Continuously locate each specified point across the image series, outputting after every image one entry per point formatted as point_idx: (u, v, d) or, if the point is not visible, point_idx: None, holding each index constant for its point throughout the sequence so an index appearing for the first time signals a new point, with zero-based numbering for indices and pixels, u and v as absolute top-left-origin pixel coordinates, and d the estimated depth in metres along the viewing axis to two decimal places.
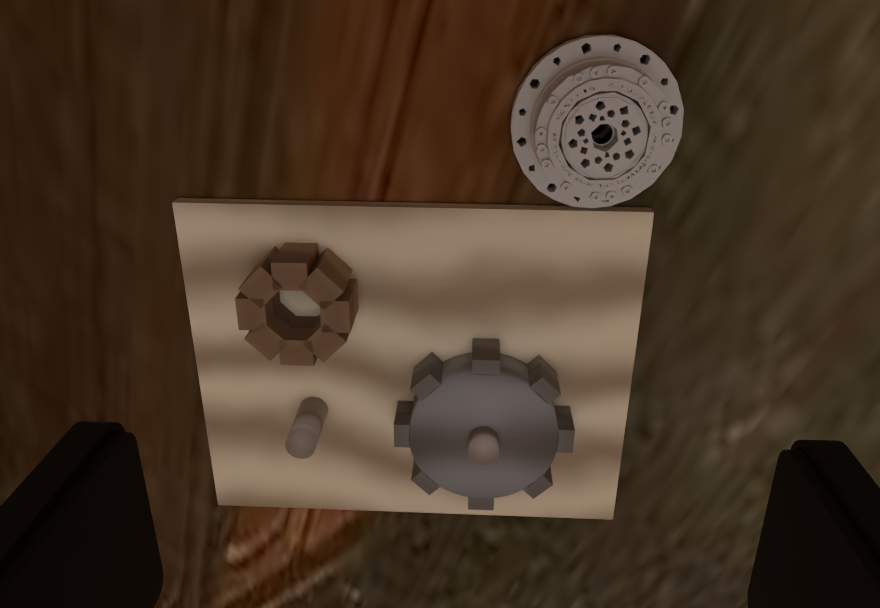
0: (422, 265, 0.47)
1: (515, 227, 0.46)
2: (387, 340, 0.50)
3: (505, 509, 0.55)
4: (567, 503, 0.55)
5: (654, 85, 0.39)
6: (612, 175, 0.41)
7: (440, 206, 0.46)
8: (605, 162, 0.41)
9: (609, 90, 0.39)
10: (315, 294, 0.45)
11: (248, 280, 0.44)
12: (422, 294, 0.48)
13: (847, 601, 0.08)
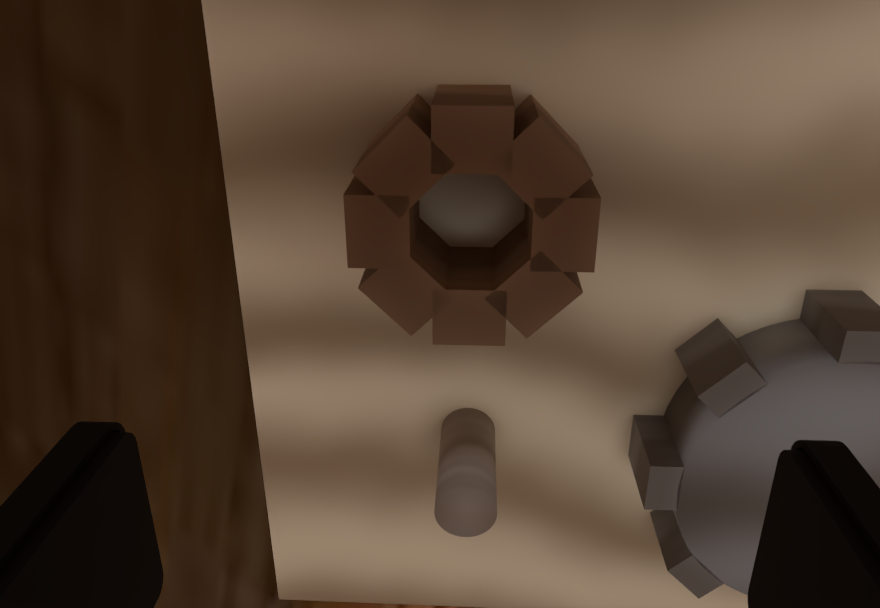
0: (730, 131, 0.22)
1: None
2: (629, 296, 0.25)
3: None
4: None
5: None
6: None
7: None
8: None
9: None
10: (527, 182, 0.20)
11: (376, 150, 0.20)
12: (718, 197, 0.23)
13: (847, 601, 0.08)
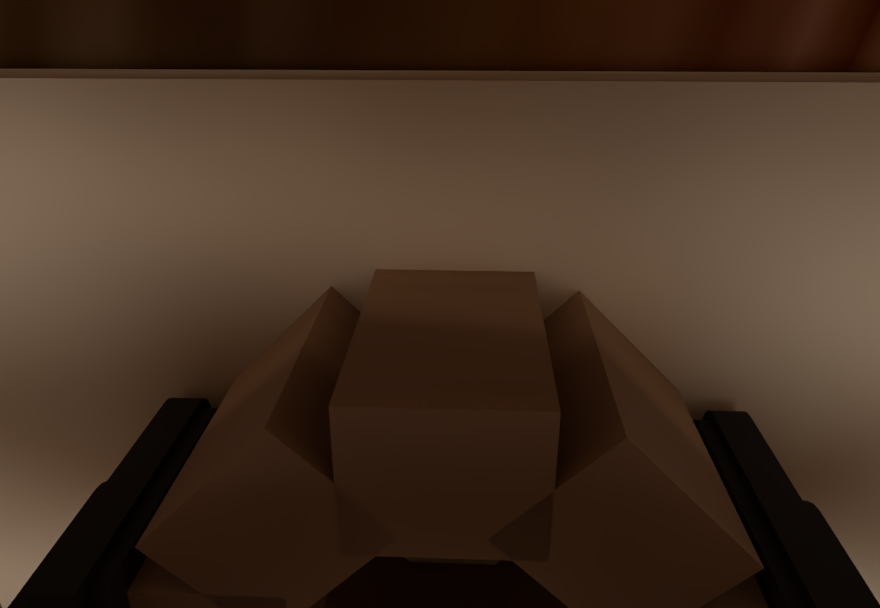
0: None
1: None
2: None
3: None
4: None
5: None
6: None
7: None
8: None
9: None
10: (587, 578, 0.08)
11: (193, 504, 0.07)
12: None
13: None
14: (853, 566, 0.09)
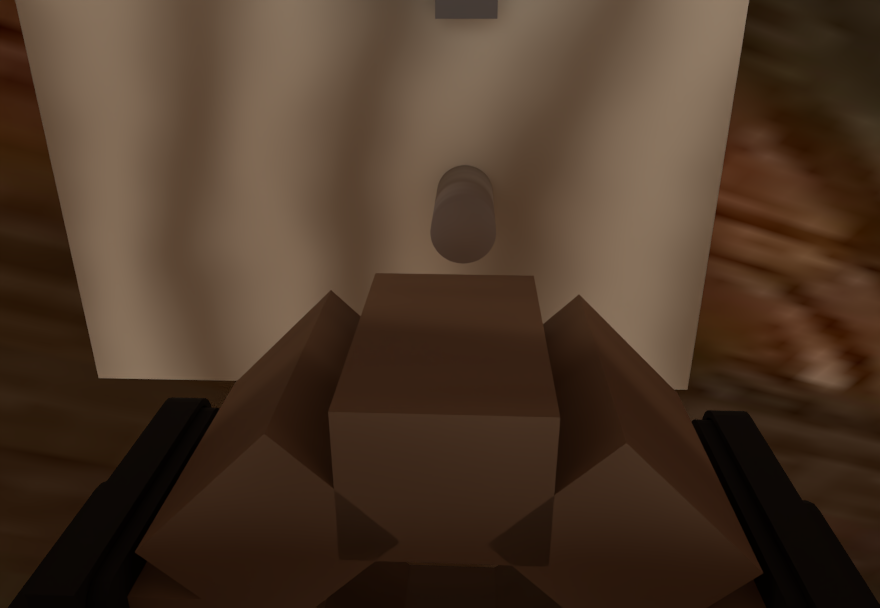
0: None
1: None
2: (297, 34, 0.24)
3: None
4: None
5: None
6: None
7: None
8: None
9: None
10: (587, 583, 0.08)
11: (193, 508, 0.07)
12: None
13: None
14: (853, 566, 0.09)
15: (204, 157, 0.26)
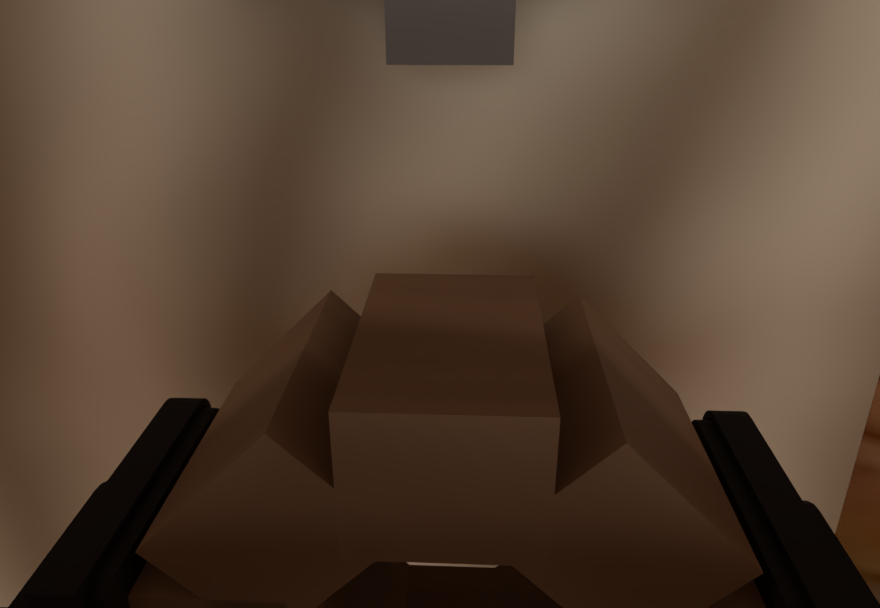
0: None
1: None
2: (151, 82, 0.14)
3: None
4: None
5: None
6: None
7: None
8: None
9: None
10: (587, 583, 0.08)
11: (193, 509, 0.07)
12: None
13: None
14: (853, 566, 0.09)
15: (9, 285, 0.15)
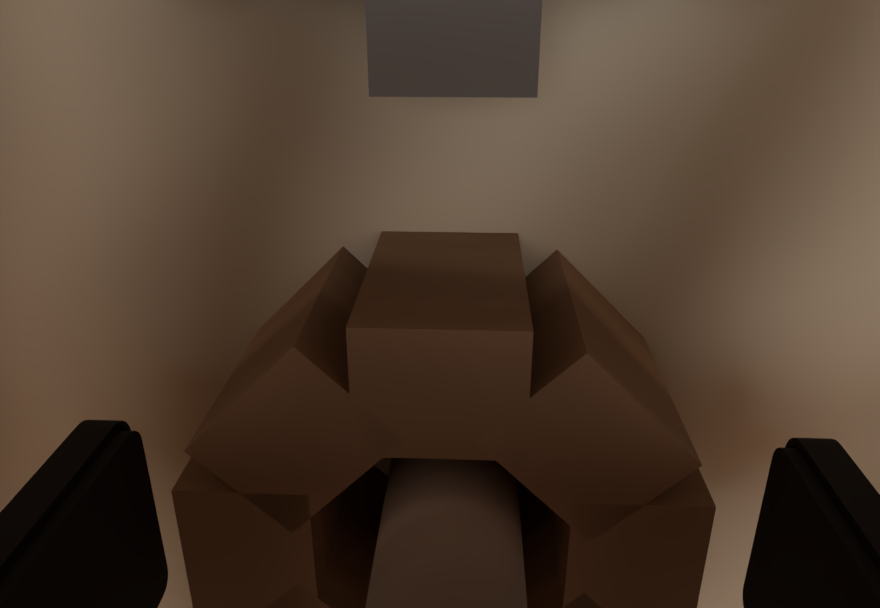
0: None
1: None
2: (87, 108, 0.11)
3: None
4: None
5: None
6: None
7: None
8: None
9: None
10: (558, 476, 0.09)
11: (233, 412, 0.09)
12: None
13: (840, 597, 0.08)
14: None
15: None
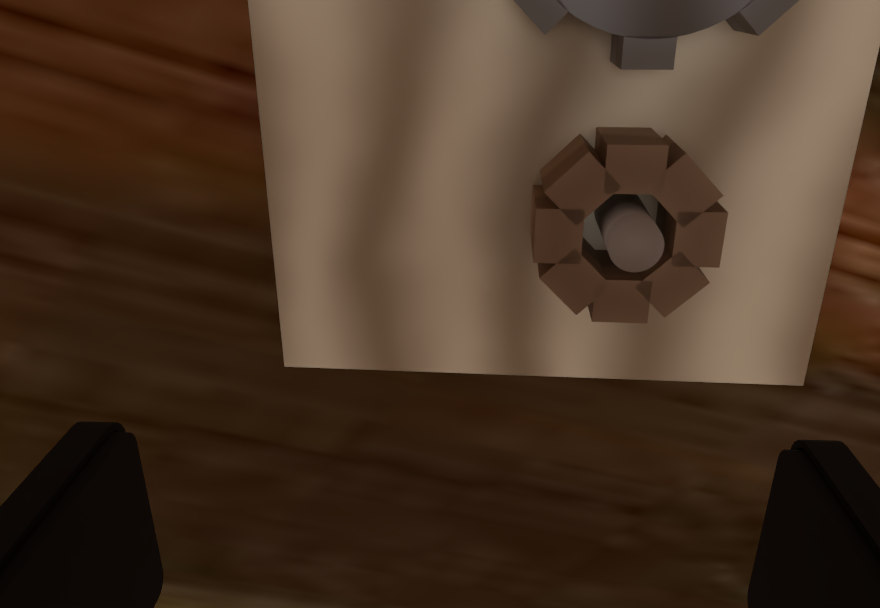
0: (345, 12, 0.28)
1: None
2: (487, 77, 0.29)
3: None
4: None
5: None
6: None
7: None
8: None
9: None
10: (673, 200, 0.27)
11: (564, 176, 0.27)
12: (398, 11, 0.28)
13: (847, 601, 0.08)
14: None
15: (396, 179, 0.31)
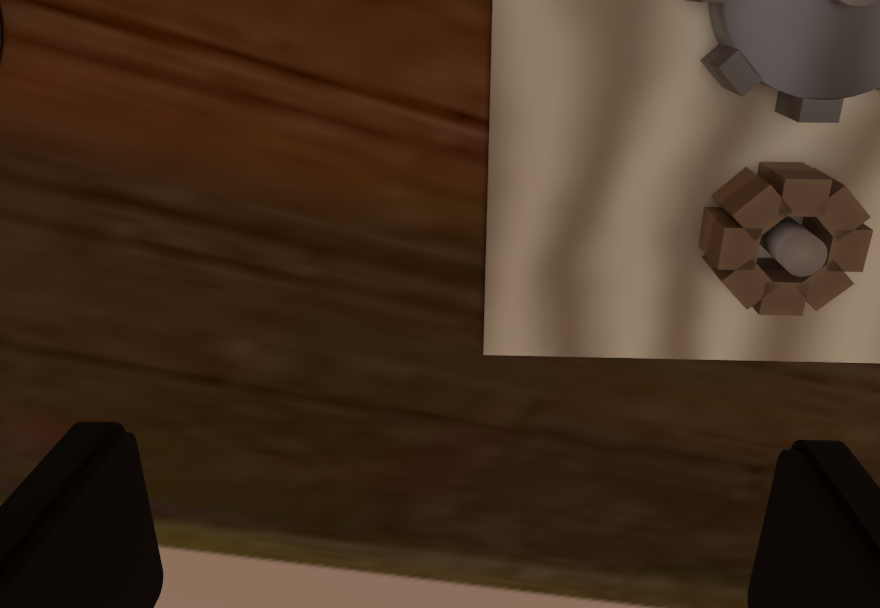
0: (568, 73, 0.36)
1: None
2: (676, 123, 0.37)
3: None
4: None
5: None
6: None
7: (491, 49, 0.36)
8: None
9: None
10: (832, 221, 0.35)
11: (749, 203, 0.35)
12: (611, 73, 0.36)
13: (847, 601, 0.08)
14: None
15: (595, 203, 0.39)
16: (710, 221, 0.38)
